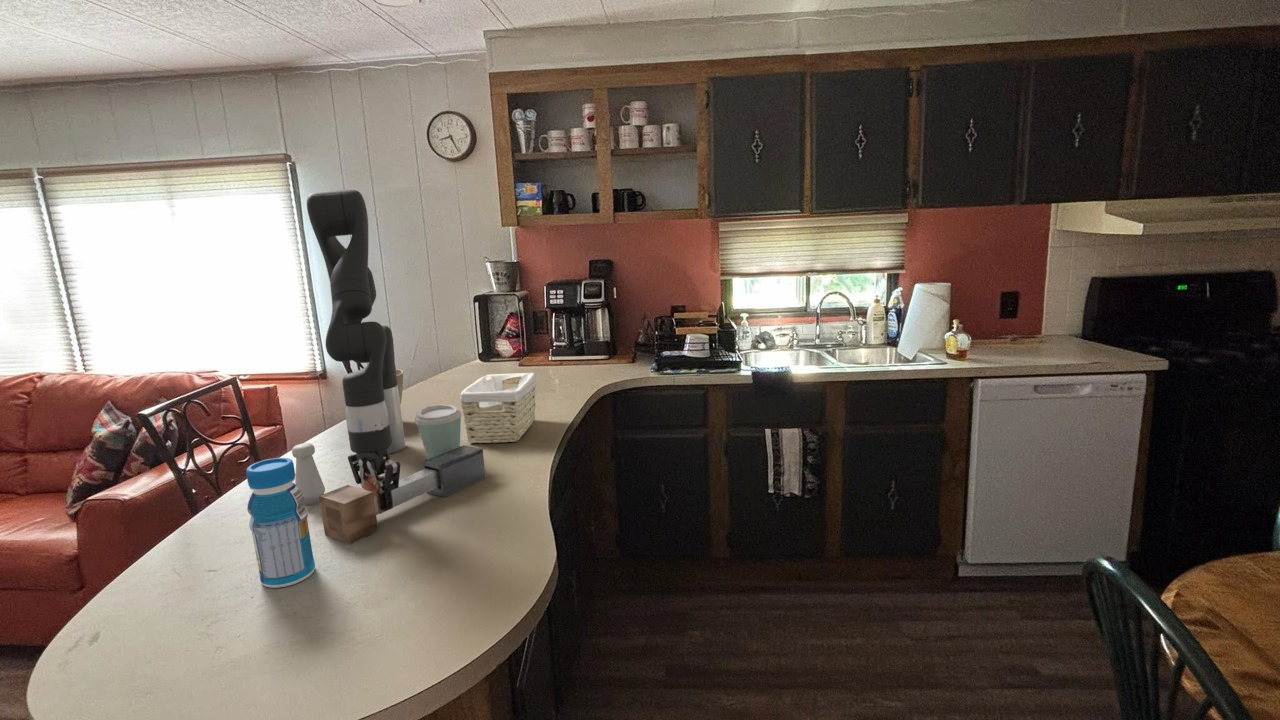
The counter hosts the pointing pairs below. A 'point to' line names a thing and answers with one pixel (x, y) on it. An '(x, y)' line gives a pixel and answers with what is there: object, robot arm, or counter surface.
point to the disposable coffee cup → (439, 428)
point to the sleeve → (457, 469)
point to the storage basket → (499, 407)
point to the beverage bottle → (279, 524)
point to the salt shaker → (307, 474)
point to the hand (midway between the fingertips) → (379, 506)
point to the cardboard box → (348, 513)
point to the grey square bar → (406, 487)
